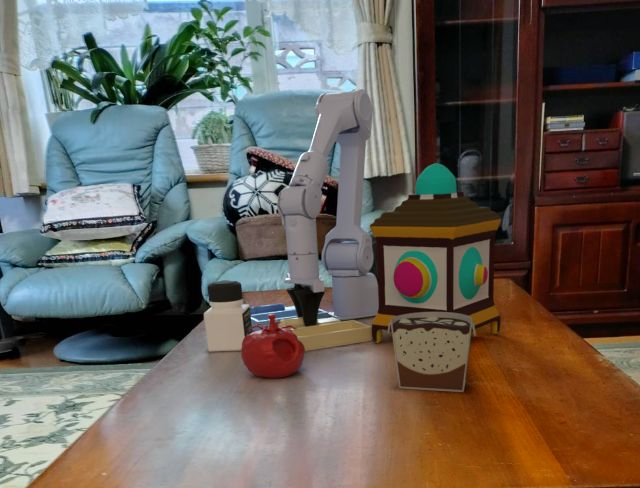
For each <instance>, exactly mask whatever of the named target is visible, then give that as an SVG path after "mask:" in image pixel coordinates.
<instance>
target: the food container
mask: <svg viewBox="0 0 640 488" xmlns="http://www.w3.org/2000/svg"><path fill="white" fill-rule="evenodd" d="M390 333H391V335H392V344H393V351H394V352H393V353H394V359H395V366H396V367H395V368H396V377H397V383H398V389H405V390H406V389H407V390H423V391H437V392H438V391H440V392H453V393H454V392H456V393H464V392H465V388H466V380H467V375H468V363H469V358H470V357H469V356H470V347H471V340H472V333H473V337H476V336H477V332H476V329H475V326H474V323H473V322H472V318H471V317H469V316H467V315H464V314H459V313H451V312H419V313H410V314H404V315H399V316H396V317H394V318H392V319H391V323H389V327H388V330H387V334H390Z"/></svg>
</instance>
